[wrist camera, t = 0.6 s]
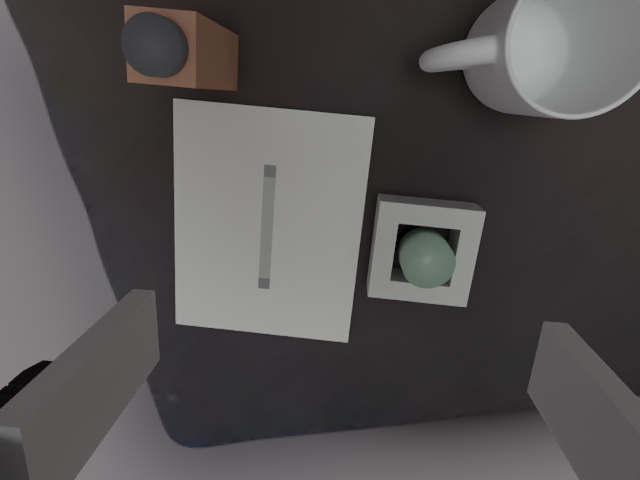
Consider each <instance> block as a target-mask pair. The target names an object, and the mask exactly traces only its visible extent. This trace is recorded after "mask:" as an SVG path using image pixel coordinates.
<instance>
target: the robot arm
mask: <svg viewBox="0 0 640 480" xmlns="http://www.w3.org/2000/svg"><path fill="white" fill-rule="evenodd" d="M158 361H159V345H158V330H157V314H156V299H155V291H153V290H141V289H132V290H131V291H130V292H129V293H128V294H127V295H126V296H125V297H124V298H122V299H121V300H120V301H119V302H118V303H117V304H116V305H115V306H114V307H113V308H111V309H110V310H109V311H108V312H107V313H106V314H105V315H104V316H103V317H101V318H100V319H99V320H98V321H97V322H96V323H95V324H94V325H93V326H92V327H91V328H89V329H88V330H87V331H86V332H85V333H84V334H83V335H82V336H81V337H79V338H78V339H77V340H76V341H75V342H74V343H73V344H72V345H71V346H69V347H68V348H67V349H66V350H65V351H64V352H63V353H62V354H61V355H59V356H58V357H57V358H56V359H55V360H54V361H44V360H43V361H41V362H39V363H37V364H35V365H33V366H31V367H29V368H28V369H26V370H24V371H23V372H21V373H20V374H19V375H18V376H16V377H15V378H14V379H13V380H12V381H11V382H9V385H8V386H5V387H4V388H2V389H1V390H0V480H74V479H75V478H76V476H77V475H78V474H79V472H80V471H81V469H82V468H83V466H84V465H85V464H86V462H87V461H88V460H89V458H90V457H91V455H92V454H93V453H94V451H95V450H96V448H97V447H98V446H99V444H100V443H101V441H102V440H103V438H104V437H105V436H106V434H107V433H108V431H109V430H110V429H111V427H112V426H113V424H114V423H115V422H116V420H117V419H118V417H119V416H120V414H121V413H122V412H123V410H124V409H125V408H126V406H127V405H128V403H129V402H130V401H131V399H132V398H133V396H134V395H135V393H136V392H137V391H138V389H139V388H140V386H141V385H142V384H143V382H144V381H145V380H146V378H147V377H148V375H149V374H150V373H151V371H152V370H153V368H154V367H155V366H156V364H157V363H158ZM527 392H528V394H529V396H530V397H531V399H532V401H533V402H534V404H535V406H536V407H537V409H538V411H539V412H540V414H541V416H542V417H543V419H544V421H545V423H546V424H547V426H548V428H549V429H550V431H551V432H552V434H553V436H554V438H555V439H556V441H557V443H558V444H559V446H560V448H561V449H562V451H563V453H564V454H565V456H566V458H567V459H568V461H569V463H570V465H571V466H572V468H573V469H574V471H575V473H576V475H577V477H578V478H579V480H640V400H639V399H638V398H637V396H636V395H635V394H634V393H633V392H632V391H631V390H630V389H629V388H628V387H627V386H626V385H625V384H624V383H623V382H622V381H621V380H620V378H619V377H618V376H617V375H616V374H615V373H614V372H613V371H612V370H611V369H610V368H609V367H608V366H607V365H606V364H605V363H604V361H603V360H602V359H601V358H600V357H599V356H598V355H597V354H596V353H595V352H594V351H593V350H592V349H591V348H590V347H589V346H588V345H587V343H586V342H585V341H584V340H583V339H582V338H581V337H580V336H579V335H578V334H577V333H576V332H575V331H574V330H573V329H572V328H571V327H570V325H569V324H568V323H557V322H544V323H543V327H542V331H541V336H540V340H539V344H538V348H537V352H536V356H535V361H534V365H533V369H532V373H531V377H530V381H529V386H528V390H527Z"/></svg>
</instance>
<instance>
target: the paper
mask: <svg viewBox="0 0 640 480" xmlns="http://www.w3.org/2000/svg"><path fill="white" fill-rule="evenodd" d="M374 124H375V117H368V116H357V115H347V114H336V113H325V112H315V111H304V110H293V109H283V108H272V107H261V106H251V105H240V104H229V103H219V102H208V101H198V100H187V99H176V98H173V132H174V214H175V297H176V324H182V325H191V326H200V327H210V328H219V329H228V330H237V331H246V332H255V333H264V334H273V335H282V336H292V337H301V338H310V339H319V340H328V341H337V342H346V343H348V337H349V329H350V320H351V312H352V304H353V296H354V288H355V279H356V271H357V263H358V255H359V247H360V238H361V230H362V222H363V214H364V206H365V197H366V189H367V181H368V173H369V165H370V156H371V148H372V140H373V132H374Z"/></svg>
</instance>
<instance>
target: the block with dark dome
mask: <svg viewBox="0 0 640 480" xmlns="http://www.w3.org/2000/svg"><path fill="white" fill-rule="evenodd" d="M124 13H125V25H124V27H123V30H122V33H121V48H122V52H123V55H124V57H125V59H126V61H127V82H132V83H143V84H154V85H165V86H175V87H186V88H197V89H214V90H230V91H237V76H238V42H239V36H238V35H237V34H235V33H233V32H231V31H230V30H228V29H226V28H224V27H223V26H221V25H219V24H217V23H216V22H214V21H212V20H210V19H208V18H207V17H205V16H203V15H201V14H200V13H198V12H196V11H185V10H174V9H163V8H151V7H140V6H128V5H124Z"/></svg>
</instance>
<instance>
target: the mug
mask: <svg viewBox="0 0 640 480" xmlns="http://www.w3.org/2000/svg"><path fill="white" fill-rule="evenodd" d="M419 65H420V68H421V69H422V70H423V71H425V72H441V71H452V70H463V72H464V76H465V79H466V82H467V84H468V87H469V89H470V90H471V92H472V93H473V94H474V96H475V97H476V98H477V99H478V100H479V101H481V102H482V103H483V104H484V105H486V106H487V107H489V108H491V109H494V110H496V111H499V112H503V113H508V114H516V115H527V116H537V117H547V118H558V119H584V118H590V117H593V116H597V115H600V114H602V113H605V112H607V111H610V110H611V109H613V108H615V107H617V106H619V105H620V104H622V103H623V102H625V101H626V100H627V99H629V98H630V97H631V96H632V95H633V94H635V93H636V92H637V91H638V90H639V89H640V0H496V1H495V2H494V3H492V4H491V5H490V6H489V7H488V8H487V9H486V10H485V11H484V12H483V13H482V14H481V15H480V16H479V17H478V19H477V20H476V21H475V23H474V24H473V26H472V28H471V29H470V32H469V34H468V36H467V39H466V40H461V41H457V42H453V43H448V44H445V45H441V46H438V47H435V48H432V49H429V50H427V51H425V52H424V53H423V54H422V55H421V57H420V58H419Z"/></svg>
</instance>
